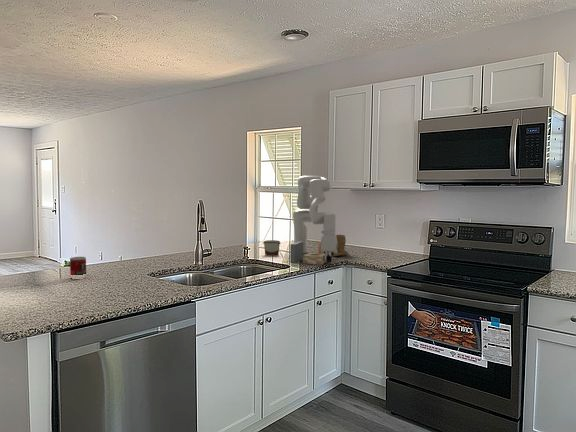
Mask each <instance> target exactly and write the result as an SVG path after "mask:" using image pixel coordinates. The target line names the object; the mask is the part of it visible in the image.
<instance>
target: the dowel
mask: <svg viewBox="0 0 576 432" xmlns="http://www.w3.org/2000/svg"><path fill="white" fill-rule="evenodd" d="M317 243H318V250H317V251H318V252H317V253H319V254H324V253H322V252H321V249H320V246H321V241H318V242H317Z"/></svg>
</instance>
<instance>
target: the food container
mask: <svg viewBox="0 0 576 432" xmlns="http://www.w3.org/2000/svg"><path fill="white" fill-rule="evenodd" d="M262 243H263V245H264V255H265V256H277V255H278V256H279V254H280V245H281V241H280V240H271V239H270V240H269V239H268V240H264V241H263V242H262Z"/></svg>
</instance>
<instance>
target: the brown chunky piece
mask: <svg viewBox="0 0 576 432" xmlns="http://www.w3.org/2000/svg"><path fill="white" fill-rule="evenodd" d="M335 235H336V237H337V253H335V254H333V255H332V257H341V256H346V255H349V254H350V252H348V251H346V250H345V246H346V244H347V243H346V235H345V234H335ZM334 252H335V251H334Z"/></svg>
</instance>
